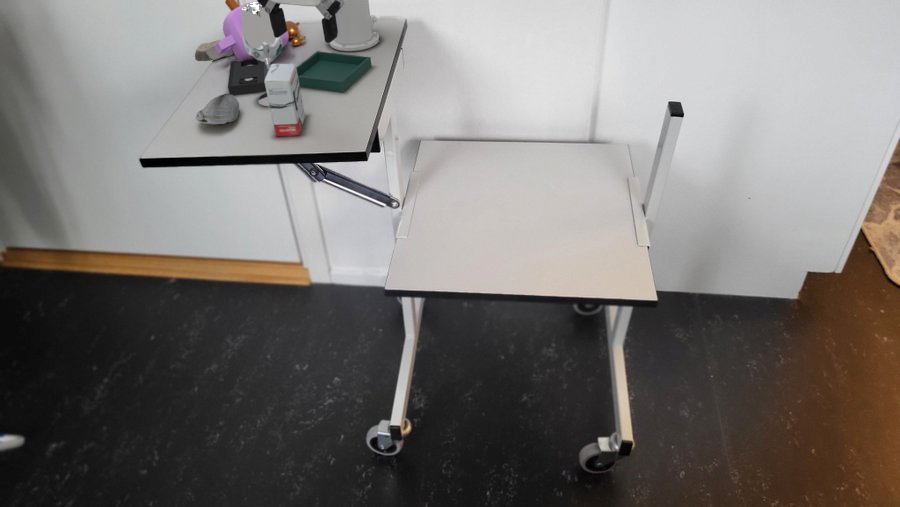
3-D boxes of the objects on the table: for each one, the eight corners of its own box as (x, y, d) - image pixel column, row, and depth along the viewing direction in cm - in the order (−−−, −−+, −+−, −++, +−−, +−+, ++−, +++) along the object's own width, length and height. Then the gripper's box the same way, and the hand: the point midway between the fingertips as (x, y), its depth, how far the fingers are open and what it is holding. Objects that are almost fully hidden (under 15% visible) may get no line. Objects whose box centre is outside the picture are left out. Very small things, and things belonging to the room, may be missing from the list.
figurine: (284, 54, 167) (320, 35, 171) (279, 41, 164) (315, 22, 168) (262, 43, 174) (297, 25, 178) (257, 31, 172) (292, 12, 176)
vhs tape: (266, 90, 148) (264, 82, 147) (230, 95, 147) (227, 86, 146) (266, 65, 159) (264, 57, 158) (233, 69, 158) (230, 61, 157)
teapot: (213, 11, 148) (197, 29, 158) (241, 63, 151) (223, 78, 161) (286, -14, 158) (267, 4, 169) (311, 35, 161) (291, 51, 172)
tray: (318, 61, 161) (317, 51, 159) (371, 67, 156) (370, 57, 155) (288, 85, 150) (285, 75, 149) (343, 92, 146) (341, 82, 145)
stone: (201, 65, 162) (197, 51, 160) (194, 60, 165) (189, 46, 162) (245, 50, 167) (242, 37, 165) (237, 46, 170) (233, 32, 168)
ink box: (300, 136, 132) (289, 79, 124) (275, 137, 132) (262, 81, 124) (306, 116, 138) (295, 61, 131) (282, 117, 138) (270, 62, 131)
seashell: (214, 107, 143) (208, 85, 140) (250, 108, 142) (245, 86, 139) (190, 134, 134) (183, 111, 131) (229, 135, 133) (222, 112, 130)
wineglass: (289, 106, 142) (269, 12, 129) (253, 107, 142) (230, 14, 130) (296, 90, 148) (278, -1, 135) (262, 91, 148) (240, 0, 136)
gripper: (347, -77, 101) (361, 33, 112) (250, -82, 106) (273, 24, 117) (324, -64, 96) (341, 51, 107) (223, -69, 101) (249, 41, 112)
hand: (305, 37), depth 112 cm, fingers open, 9 cm apart
